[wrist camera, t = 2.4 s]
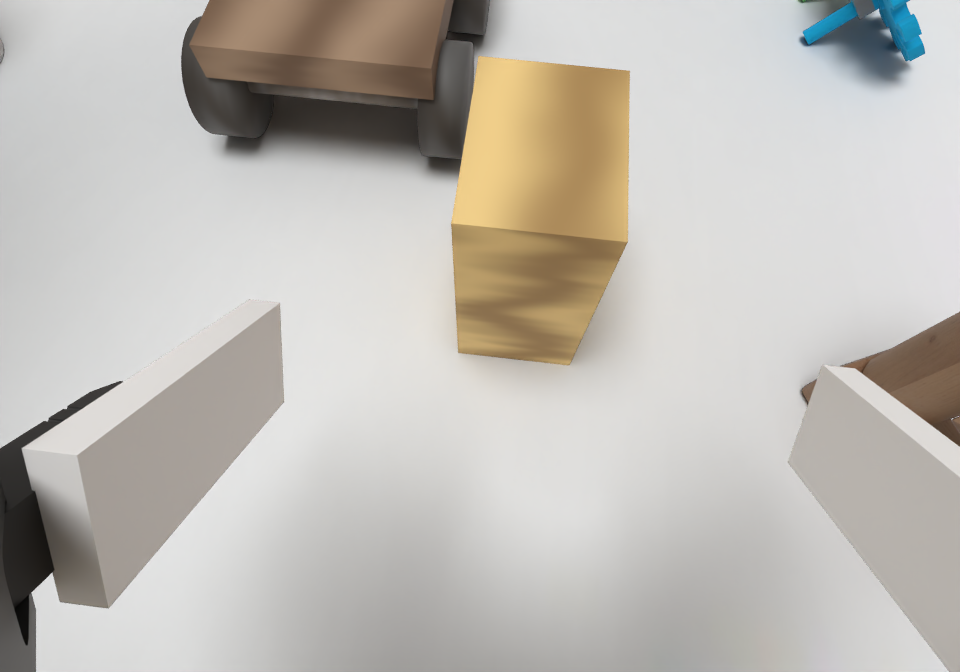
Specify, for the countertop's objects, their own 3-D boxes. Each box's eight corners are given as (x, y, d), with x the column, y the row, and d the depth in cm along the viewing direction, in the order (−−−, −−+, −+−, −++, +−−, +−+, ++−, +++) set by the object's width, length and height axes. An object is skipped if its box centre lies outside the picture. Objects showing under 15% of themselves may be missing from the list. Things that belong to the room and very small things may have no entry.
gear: (947, 78, 36) (914, -47, 30) (846, 128, 40) (798, 25, 34) (892, -11, 42) (854, -131, 36) (807, 40, 46) (760, -62, 40)
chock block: (458, 352, 30) (451, 223, 19) (476, 227, 33) (478, 53, 22) (569, 365, 30) (627, 242, 19) (576, 237, 33) (629, 68, 22)
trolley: (218, 156, 35) (155, 51, 28) (288, -25, 42) (251, -145, 35) (461, 181, 34) (458, 81, 27) (491, -6, 41) (495, -124, 34)
